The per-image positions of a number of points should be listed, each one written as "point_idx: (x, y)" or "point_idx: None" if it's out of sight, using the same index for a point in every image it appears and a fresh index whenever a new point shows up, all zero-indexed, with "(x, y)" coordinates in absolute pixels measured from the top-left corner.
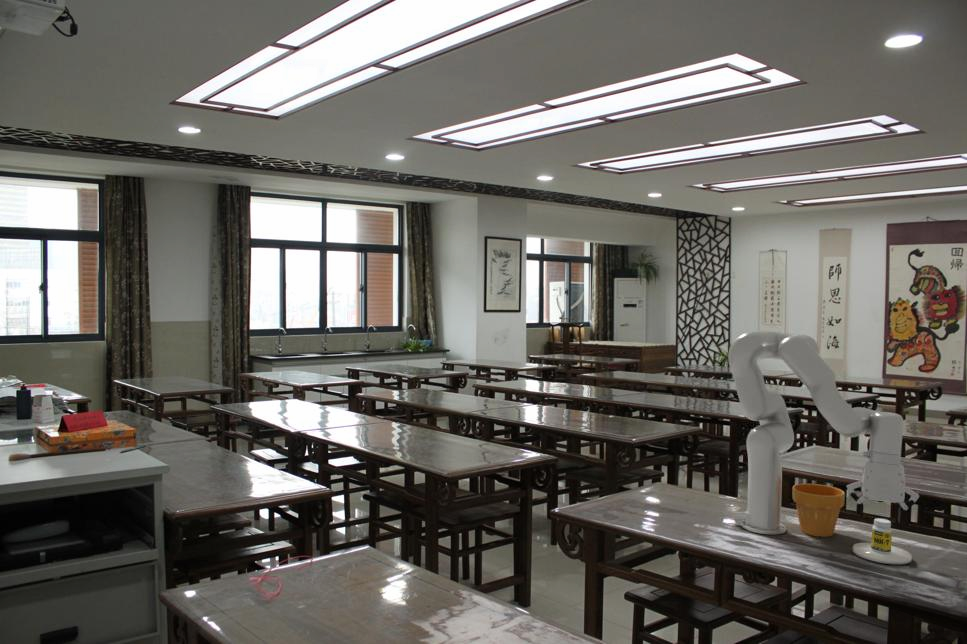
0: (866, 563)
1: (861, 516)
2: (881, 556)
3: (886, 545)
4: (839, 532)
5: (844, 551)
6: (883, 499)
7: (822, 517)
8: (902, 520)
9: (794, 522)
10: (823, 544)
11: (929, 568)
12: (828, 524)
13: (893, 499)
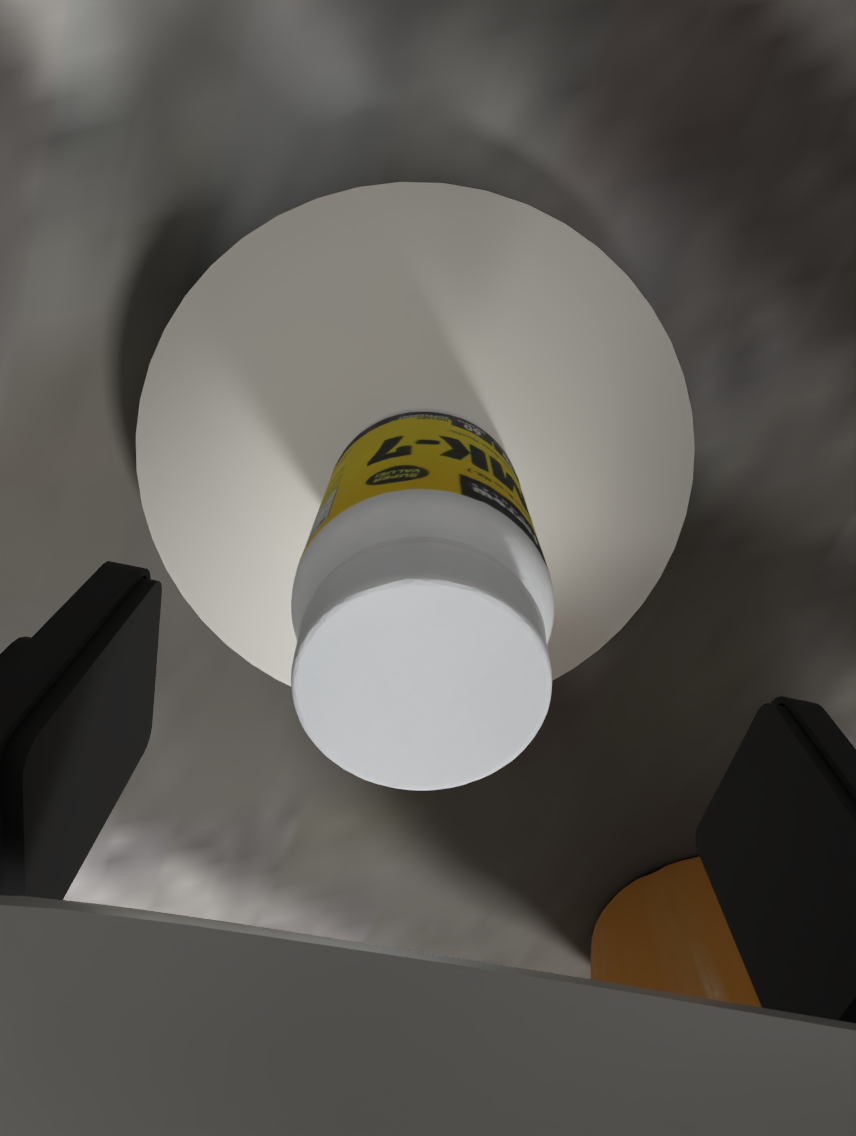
0: (665, 232)
1: (808, 719)
2: (492, 308)
3: (403, 432)
4: (526, 955)
5: (710, 561)
6: (589, 1024)
7: None
8: (89, 592)
9: None
10: (806, 698)
11: (16, 208)
12: (720, 941)
13: (141, 1028)
